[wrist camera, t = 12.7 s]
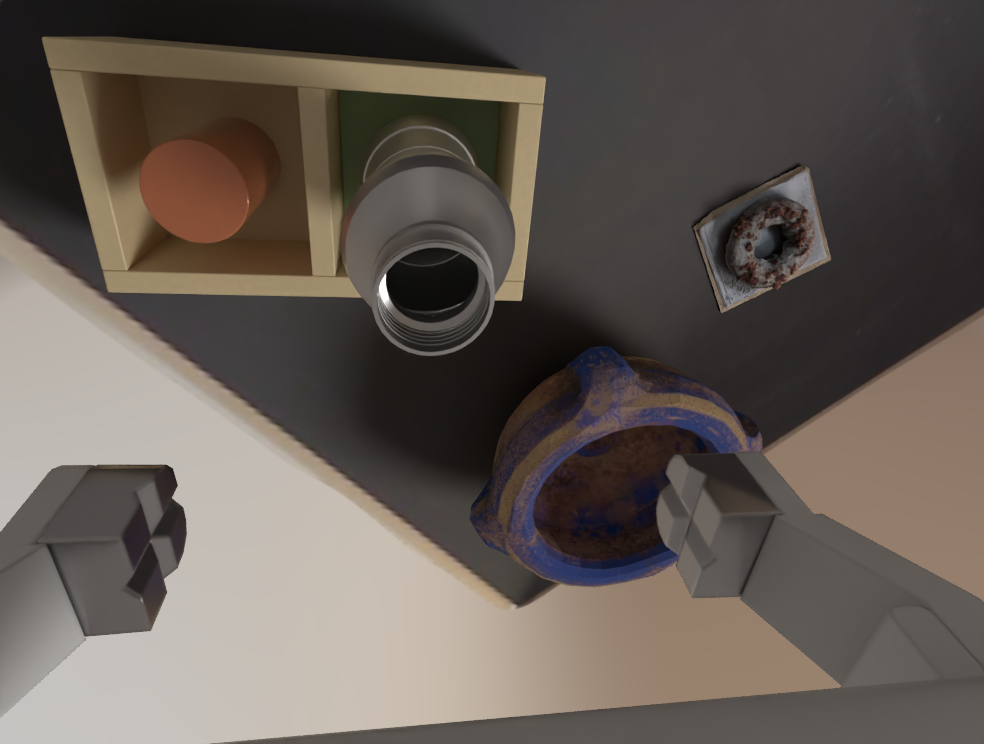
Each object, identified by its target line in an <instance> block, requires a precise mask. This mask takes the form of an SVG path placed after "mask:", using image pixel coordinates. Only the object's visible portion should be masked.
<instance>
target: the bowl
mask: <svg viewBox="0 0 984 744" xmlns="http://www.w3.org/2000/svg"><path fill="white" fill-rule="evenodd" d="M742 451H757V452H759V453H761V452H762V436H761V434H760V432H759V429H758V427H757V425H756V424H755V423H754V422H753V421H752V420H751V419H750V418H749V417H747V416H745V415H743V414H741V413H738V412H736V411H733V410H732V409H731V407H730V406H729V405H728V404H727V402H726V401H725V400H724V399H723V398H722V396H721V395H719V394H717V393H716V392H714V391H712V390H711V389H709V388H707V387H706V386H704V385H703V384H701V383H699V382H698V381H696V380H695V379H693V378H691V377H689V376H687V375H685V374H683V373H682V372H680V371H679V370H677V369H675V368H672V367H670V366H668V365H665V364H663V363H660V362H658V361H656V360H653V359H650V358H642V357H633V356H620V355H619V354H618V353H617V352H616V351H615V350H613V349H612V348H610V347H609V346H599V347H593V348H589V349H587V350H586V351H584V352H583V353H581V354H579V355H578V356H577V357H576V358H575V360H574V361H571V362H570V363H569V364H567V366H566V367H565V369H563V370H561V371H559V372H557V373H555V374H553V375H552V376H550V377H549V378H547V379H546V380H544V381H543V382H542V383H540V384H539V385H538V386H537V387H536V388H535V389H534V390H533V391H532V392H531V393H530V394H529V395H528V396H527V397H526V398H525V399H524V400H523V401H522V402H521V403H520V405H519V406H518V407H517V409H516V410H515V411H514V413H513V414H512V415H511V416H510V418H509V419H508V421H507V423H506V425H505V427H504V429H503V431H502V434H501V436H500V438H499V441H498V445H497V449H496V454H495V458H494V463H493V476H492V477H491V478H490V480H489V481H488V483H487V484H486V486H485V487H484V489H483V490H482V492H481V493H480V495H479V496H478V498H477V499H476V500H475V502H474V503H473V504H472V506H471V513H470V521H471V522H472V524H473V526H474V528H475V529H476V531H477V533H478V534H479V536H480V537H481V539H482V540H483V541H484V542H485V543H486V544H487V545H488V546H489V547H491V548H494V549H496V550H499V551H501V552H503V553H504V554H506V555H507V556H509V557H510V558H512V559H513V560H515V561H516V562H518V563H519V564H521V565H522V566H524V567H526V568H527V569H529V570H530V571H532V572H533V573H535V574H537V575H538V576H540V577H541V578H543V579H547V580H550V581H554V582H557V583H560V584H564V585H567V586H582V587H601V586H607V585H613V584H619V583H625V582H629V581H633V580H637V579H641V578H645V577H649V576H653V575H655V574H657V573H659V572H661V571H663V570H665V569H666V568H668V567H669V566H672V565H673V564H675V563H676V562H677V561H678V558H679V555H678V554H676V553H675V552H673V551H672V550H671V549H669V548H668V547H666V546H665V544H664V542H663V540H662V538H661V536H660V533H659V529H658V525H657V516H656V506H657V502H658V497H659V493H660V492H661V491H662V490H663V489H664V488H665V487H666V486H667V485H668V484H670V483H671V482H670V480H669V478H668V476H667V475H666V473H665V472H666V469H667V466H668V462H669V460H670V459H671V458H672V456H673V455H674V454H708V453H728V452H742Z"/></svg>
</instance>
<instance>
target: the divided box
mask: <svg viewBox="0 0 984 744" xmlns="http://www.w3.org/2000/svg"><path fill="white" fill-rule="evenodd" d="M42 42H43V46H44V50H45V53H46V57H47V61H48V65H49V68H51V70H50V72H51V76H52V80H53V84H54V88H55V91H56V95H57V99H58V103H59V107H60V111H61V114H62V118H63V122H64V126H65V130H66V133H67V137H68V141H69V145H70V149H71V153H72V156H73V160H74V164H75V168H76V172H77V175H78V179H79V183H80V187H81V191H82V195H83V198H84V202H85V206H86V210H87V214H88V217H89V221H90V225H91V229H92V233H93V236H94V240H95V244H96V248H97V252H98V256H99V259H100V263H101V267H102V269H103V274H104V278H105V282H106V286H107V290H108V292H125V293H172V294H220V295H267V296H315V297H361V295H360V294H359V293H358V292H357V290H356V289H355V287H354V286H353V284H352V282H351V280H350V279H349V277H348V275H347V272H346V269H345V266H344V263H343V260H342V253H341V245H340V240H341V229H342V223H343V220H344V217H345V213H346V210H347V208H348V206H349V204H350V202H351V201H352V199H353V197H354V195H355V193H356V192H357V190H358V189H359V188H360V184H359V169H360V163H361V159H362V156H363V153H364V151H365V149H366V147H367V145H368V143H369V141H370V140H371V139H372V138H373V136H374V135H375V134H376V133H377V132H378V131H379V130H380V129H381V128H383V127H384V126H385V125H386V124H388V123H390V122H392V121H394V120H396V119H398V118H401V117H405V116H408V115H419V114H424V115H430V116H436V117H438V118H441V119H443V120H446V121H448V122H449V123H451V124H452V125H454V126H455V127H457V128H458V129H459V130H460V131H461V132H462V133H463V134H464V135H465V136H466V137H467V139H468V140H469V142H470V143H471V145H472V146H473V149H474V151H475V154H476V156H477V159H478V164H479V169H481V170H482V171H483V172H484V173H485V174H486V175H487V176H488V177H489V178H490V179H491V180H492V181H493V182H494V183H495V184H496V185H497V186H498V187H499V189H500V190H501V192H502V193H503V195H504V196H505V198H506V199H507V202H508V204H509V207H510V210H511V212H512V215H513V220H514V226H515V249H514V254H513V258H512V262H511V265H510V268H509V271H508V273H507V275H506V277H505V280H504V282H503V284H502V286H501V287H500V288H499V290H498V291H497V293H496V294H495V300H504V301H521V300H522V294H523V285H524V282H523V281H524V277H525V268H526V258H527V249H528V240H529V230H530V221H531V212H532V203H533V193H534V184H535V175H536V166H537V156H538V147H539V138H540V129H541V119H542V110H543V105H542V104H543V100H544V91H545V82H546V77H544V76H541V75H538V74H534V73H531V72H527V71H524V70H521V69H509V68H497V67H484V66H472V65H460V64H447V63H435V62H422V61H410V60H398V59H385V58H373V57H360V56H348V55H336V54H323V53H311V52H298V51H286V50H274V49H261V48H249V47H237V46H224V45H212V44H199V43H187V42H175V41H162V40H150V39H137V38H125V37H42ZM225 117H234V118H240V119H244V120H247V121H249V122H251V123H253V124H255V125H256V126H258V127H259V128H261V129H262V130H263V131H264V132H265V133H266V134H267V135H268V136H269V137H270V139H271V140H272V141H273V143H274V145H275V147H276V149H277V151H278V154H279V157H280V163H281V171H280V177H279V180H278V183H277V185H276V186H275V188H274V189H273V191H272V192H271V193H270V194H269V195H268V196H267V198H266V199H265V200H264V201H263V202H262V203H261V205H260V206H259V207H258V208H257V209H256V210H255V212H254V213H253V214H252V215H251V216H250V217H249V218H248V220H247V221H246V222H245V223H244V224H243V225H242V227H241V228H240V229H239V230H238V231H237V232H236V233H235V234H234V235H232V236H230V237H229V238H227V239H225V240H222V241H219V242H214V243H197V242H192V241H188V240H185V239H182V238H180V237H178V236H176V235H174V234H172V233H170V232H169V231H168V230H166V229H165V228H163V227H162V226H161V225H160V224H159V223H158V222H157V221H156V220H155V219H154V218H153V216H152V215H151V214H150V212H149V211H148V209H147V207H146V206H145V204H144V201H143V199H142V196H141V192H140V186H139V174H140V169H141V166H142V163H143V161H144V159H145V158H146V156H147V155H148V153H149V152H150V151H151V150H152V149H153V148H155V147H156V146H158V145H159V144H162V143H164V142H166V141H168V140H170V139H173V138H175V137H177V136H180V135H182V134H184V133H186V132H189V131H191V130H193V129H196V128H198V127H200V126H202V125H205V124H207V123H209V122H211V121H214V120H216V119H220V118H225Z"/></svg>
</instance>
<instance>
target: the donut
mask: <svg viewBox="0 0 984 744" xmlns="http://www.w3.org/2000/svg"><path fill="white" fill-rule="evenodd" d="M811 180H812V179H811V175H810V169H808V168H806V167H803V166H801V167H798V168H796V169H794V170H792V171H790V172H788V173H786V174H785V175H781V176H780V177H779V178H776V179H773V180H771V182H767V183H765V184H764V185H762V186H760V187H757V189H754V190H752V191H750V192H748V193H746V194H744V195H743V196H740V197H739V198H737V199H734V200H733V201H731V202H730V203H727V204H724V206H722V207H719V208H718V209H716V210H713V211H712V212H710V214H709V215H708V216H707V217H705V218H703V220H702V221H701V222H700V223H699V224H697V225H695V226H694V230H695V233H696V237H697V239H698V242H699V245H700V248H701V252H702V255H703V258H704V261H705V263H706V264H705V265H706V267H707V271H708V275H709V278H710V280H711V283H712V286H713V288H714V291H715V292H714V293H715V296H716V299H717V302H718V303H719V307H720V311H721V313H723V312H725V311H727V310H729V309H731V308H733V307H735V306H737V305H739V304H741V303H743V302H745V301H747V300H750V299H752V298H755V297H757V296H758V295H760V294H763V293H764V292H766V291H768V290H771V289H772V288H775V289H778V288H780V286H781V284H782V283H785V282H787V281H789V280H791V279H793V278H795V277H797V276H799V275H802V274H804V273H805V272H808V271H810V270H812V269H814V268H815V267H818V266H820V265H822V264H824V263H826V262H828V261H830V260H831V256H830V252H829V249H828V244H827V240H826V236H825V234H824V233H825V232H824V228H823V224H822V222H821V216H820V212H819V208H818V205H817V201H816V196H815V192H814V187H813V183H812V181H811Z"/></svg>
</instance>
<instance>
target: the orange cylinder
mask: <svg viewBox="0 0 984 744" xmlns="http://www.w3.org/2000/svg"><path fill="white" fill-rule="evenodd" d="M280 171H281V163H280V157H279V154H278V151H277V149H276V147H275V145H274V143H273V141H272V140H271V139H270V137H269V136H268V135H267V134H266V133H265V132H264V131H263V130H262V129H261V128H259V127H258V126H256V125H255V124H253V123H251V122H249V121H247V120H244V119H240V118H234V117H225V118H220V119H216V120H214V121H211V122H209V123H207V124H205V125H202V126H200V127H198V128H196V129H193V130H191V131H189V132H186V133H184V134H182V135H180V136H177V137H175V138H173V139H170V140H168V141H166V142H164V143H162V144H159V145H158V146H156V147H155V148H153V149H152V150H151V151H150V152H149V153H148V155H147V156H146V158H145V159H144V161H143V163H142V166H141V169H140V174H139V186H140V192H141V196H142V199H143V201H144V204H145V206H146V207H147V209H148V211H149V212H150V214H151V215H152V216H153V218H154V219H155V220H156V221H157V222H158V223H159V224H160V225H161V226H162V227H163V228H165V229H166V230H168V231H169V232H170V233H172V234H174V235H176V236H178V237H180V238H182V239H185V240H188V241H192V242H197V243H214V242H219V241H222V240H225V239H227V238H229V237H230V236H232V235H234V234H235V233H236V232H237V231H238V230H239V229H240V228H241V227H242V225H243V224H244V223H245V222H246V221H247V220H248V218H249V217H250V216H251V215H252V214H253V213H254V212H255V210H256V209H257V208H258V207H259V206H260V205H261V203H262V202H263V201H264V200H265V199H266V198H267V196H268V195H269V194H270V193H271V192H272V191H273V189H274V188H275V186H276V185H277V183H278V180H279V177H280Z"/></svg>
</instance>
